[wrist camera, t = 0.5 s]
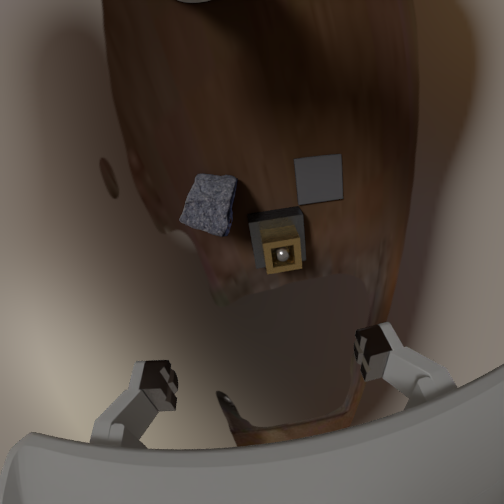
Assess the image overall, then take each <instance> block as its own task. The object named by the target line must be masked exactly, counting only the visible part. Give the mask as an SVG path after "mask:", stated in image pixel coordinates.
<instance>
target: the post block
mask: <svg viewBox="0 0 504 504" xmlns="http://www.w3.org/2000/svg"><path fill="white" fill-rule="evenodd" d="M247 215H248V222H249V228H250V234H251V240H252V246H253V251H254V257H255V263H256V269H257V268H263V267H266V265H265V260H264V254H263V247H262V241H261V234H260V230H265V229H271V228H277V227H284V226H290V225H295V228H296V230H297V232H298V234H299V237H300V244H301V258H302V261H304V260H306V249H305V234H304V220H303V214H302V212H301V210H300V208H299V206H296V207H289V208H283V209H277V210H270V211H264V212H258V213H252V214H247ZM287 250H290V246H284V247H278V248H272V249H271V253H274V252H276V254H277V257H278V260H279V261H286V260H287V259H288V258H289V254H288V251H287Z"/></svg>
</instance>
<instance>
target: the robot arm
mask: <svg viewBox="0 0 504 504" xmlns="http://www.w3.org/2000/svg"><path fill="white" fill-rule="evenodd" d="M178 1H181V2H187V3H199V2H205V1H210V0H178ZM355 336H356V339H357V340H356V341H355V342H354V354H355V358H356V361H357V363H359V364H360V365H361V369H360V371H361V373H362V376H363V378H364V381H365V382H366V381H370V380H374V379H377V378H381V377H383V379H385V380H386V381H387V382H388V383H390V384H391V385H392V386H394V387H395V388H396V389H397V390H399V391H400V392H401V393H403V394H404V395H405V396H406V397H408V398H409V401H408V403H407V405H406V407H405V409H404V411H401V412H398V413H395V414H392V415H390V416H386V417H383V418H380V419H377V420H374V421H370V422H367V423H364V424H360V425H356V426H353V427H349V428H345V429H341V430H337V431H333V432H329V433H324V434H320V435H315V436H310V437H305V438H300V439H294V440H288V441H282V442H275V443H268V444H260V445H252V446H242V447H232V448H216V449H184V450H174V449H148V448H147V447H146V446H145V445H144V444H143V443H142V442H140V441H139V439H140V438H141V436H142V435H143V434H144V432H145V431H146V429H147V428H148V427H149V425H150V424H151V422H152V421H153V419H154V418H155V417H156V415H157V414H158V411H175V410H176V403H177V398H176V396H175V393H176V392H177V391H178V378H177V375H176V373H175V371H174V370H172V369H171V364H170V362H169V360H154V361H153V360H152V361H136V363H135V364H134V367H133V371H132V375H131V379H130V383H129V388H128V390H125V391H124V392H123V393H122V394H121V395H120V396H119V397H118V398H117V399H116V400H115V401H114V402H113V403H112V404H111V405H110V406H109V407H108V408H107V409H106V410H105V411H104V412H103V413H102V414H101V415H100V416H99V417H98V418H97V419H96V420H95V423H94V427H93V431H92V435H91V439H90V443H85V442H80V441H74V440H68V439H63V438H58V437H53V436H49V435H45V434H41V433H36V432H31V433H29V434H28V435H26V436H25V437H23V438H22V439H21V440H20V441H19V442H18V443H16V444H15V445H14V446H13V447H12V449H11V450H10V451H9V453H8V455H7V458H6V460H5V463H4V466H3V469H2V472H1V476H0V504H504V364H502V365H501V366H499V367H497V368H495V369H494V370H492V371H490V372H488V373H487V374H485V375H483V376H481V377H479V378H477V379H475V380H473V381H471V382H469V383H467V384H465V385H463V386H461V387H459V388H457V386H456V384H455V383H454V381H453V379H452V377H451V375H450V374H449V372H448V370H447V369H446V368H445V367H444V366H442V365H440V364H438V363H436V362H434V361H433V360H431V359H429V358H427V357H425V356H423V355H422V354H420V353H418V352H416V351H414V350H412V349H410V348H408V347H404V346H403V345H402V343H401V341H400V339H399V338H398V336H397V334H396V332H395V331H394V329H393V327H392V326H391V324H390V323H389V322H385V323H381V324H378V325H373V326H369V327H365V328H362V329H358V330H356V333H355Z"/></svg>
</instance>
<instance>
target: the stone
mask: <svg viewBox="0 0 504 504" xmlns="http://www.w3.org/2000/svg"><path fill="white" fill-rule="evenodd" d="M237 180H238V178H237V179H236V178H235V177H234V176H231V175H224V176H217V175H210V174H198V175H197V176H196V178H195V183H194V185H193V186H192V188H191V190H190V192H189V194H188V196H187V199H186V202H185V207H184V210H183V213H182V215H181V217H180V219H179V221H180V222H182V223H184V224H186V225H188V226H190V227H192V228H196V229H200V230H203V231H207V232H209V233H211V234H213V235H217V236H221V237H223V236H228V233H229V230H230V228H229V229H228V227H231V223H232V222H231V223H230V224H229V222H230V217H231V219H232V221H233V218H232V214H233V212H232V204H233V201H234V197H235V191H236V186H237Z"/></svg>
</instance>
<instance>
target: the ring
mask: <svg viewBox="0 0 504 504" xmlns="http://www.w3.org/2000/svg"><path fill="white" fill-rule="evenodd" d="M260 234H261V241H262V247H263V254H264V260H265V265H266V270H267V274H273V273H279V272H284V271H290V270H296V269H302V258H301V244H300V237H299V234H298V232H297V230H296V228H295V225H290V226H284V227H277V228H271V229H265V230H260ZM284 246H290V250H287V251H288V254H289V258H288V259H287V260H286V261H279V260H278V257H277V254H276V252H274V253H271V249H272V248H278V247H284Z"/></svg>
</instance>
